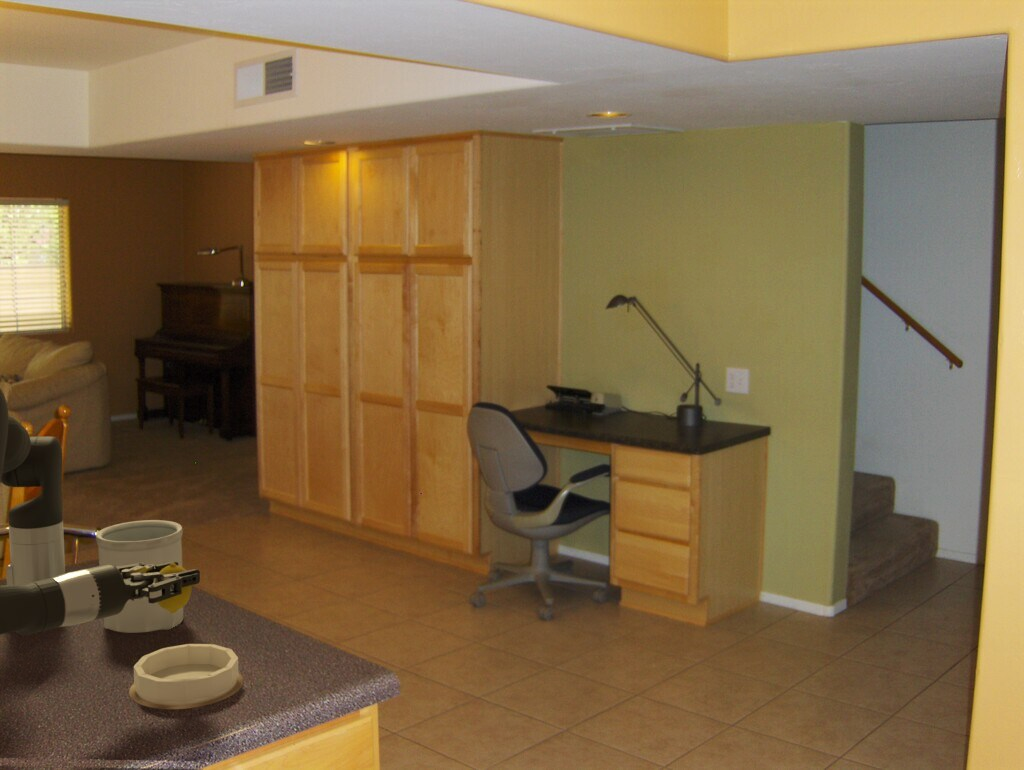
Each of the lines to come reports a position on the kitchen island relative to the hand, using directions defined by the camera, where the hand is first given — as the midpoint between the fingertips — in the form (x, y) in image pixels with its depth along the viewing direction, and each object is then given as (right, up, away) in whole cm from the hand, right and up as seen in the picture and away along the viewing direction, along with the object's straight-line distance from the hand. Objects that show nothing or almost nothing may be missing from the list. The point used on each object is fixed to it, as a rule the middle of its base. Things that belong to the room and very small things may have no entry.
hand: (187, 571), depth 167 cm
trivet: (0, -18, -1) cm, 18 cm away
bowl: (0, -17, -1) cm, 18 cm away
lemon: (-2, -6, -1) cm, 7 cm away
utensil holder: (-17, -14, +28) cm, 36 cm away
